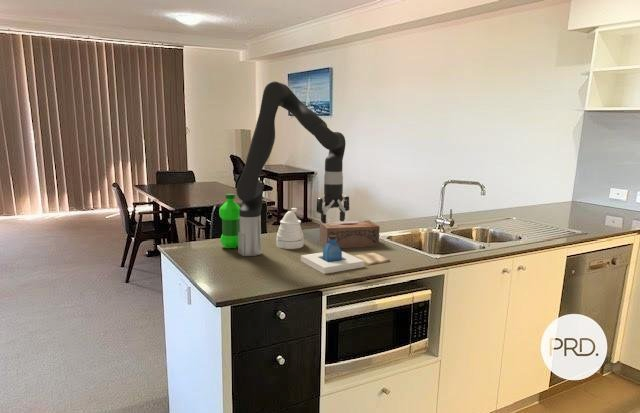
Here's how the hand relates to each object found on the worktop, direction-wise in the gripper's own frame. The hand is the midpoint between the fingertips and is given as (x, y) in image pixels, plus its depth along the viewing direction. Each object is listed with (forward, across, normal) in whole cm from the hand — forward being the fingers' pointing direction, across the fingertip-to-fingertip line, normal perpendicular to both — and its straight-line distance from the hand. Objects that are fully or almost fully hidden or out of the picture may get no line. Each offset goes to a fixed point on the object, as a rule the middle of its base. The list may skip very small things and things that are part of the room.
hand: (332, 222), depth 181 cm
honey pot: (+18, +2, -35) cm, 39 cm away
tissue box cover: (+18, -25, -25) cm, 40 cm away
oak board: (+18, -18, +2) cm, 25 cm away
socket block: (+18, 0, 0) cm, 18 cm away
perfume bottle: (+18, 0, 0) cm, 18 cm away
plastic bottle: (+18, +28, -44) cm, 55 cm away
